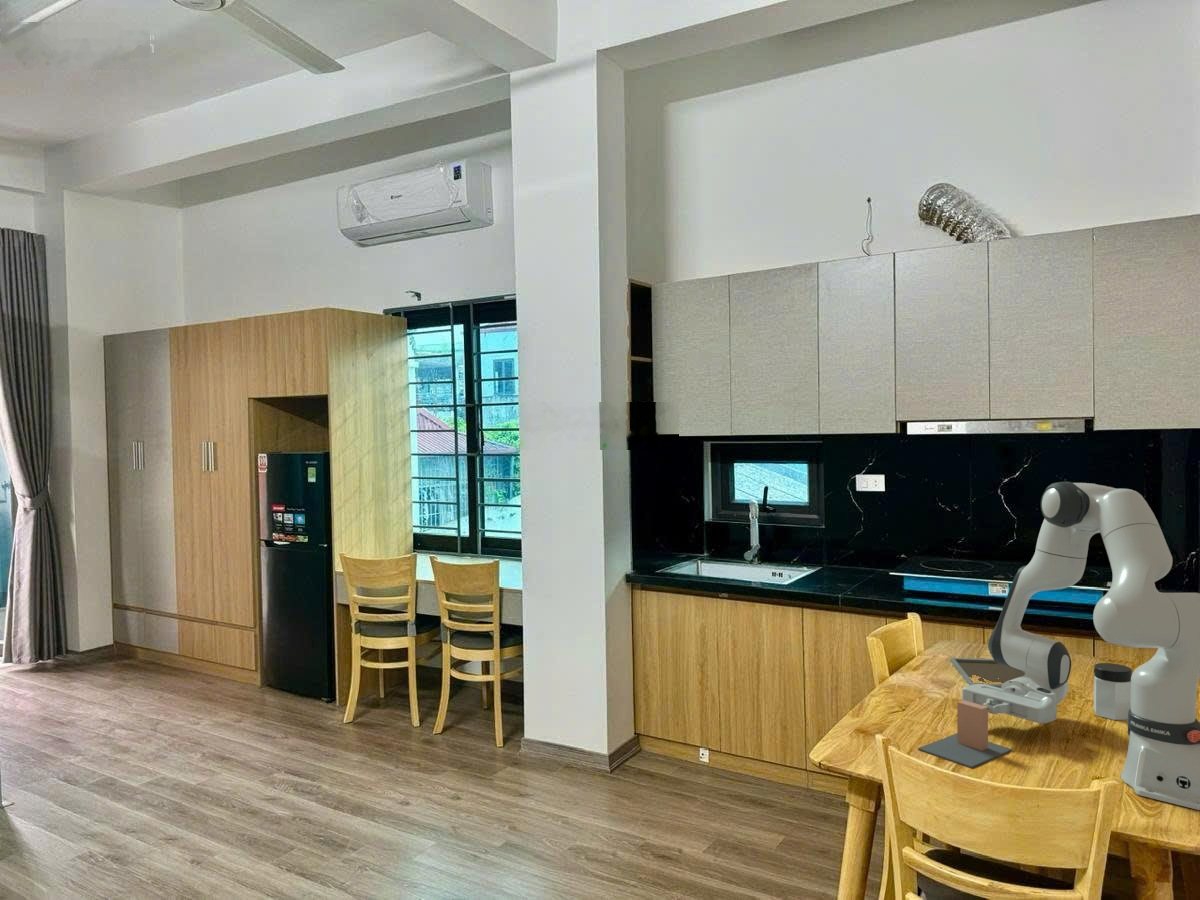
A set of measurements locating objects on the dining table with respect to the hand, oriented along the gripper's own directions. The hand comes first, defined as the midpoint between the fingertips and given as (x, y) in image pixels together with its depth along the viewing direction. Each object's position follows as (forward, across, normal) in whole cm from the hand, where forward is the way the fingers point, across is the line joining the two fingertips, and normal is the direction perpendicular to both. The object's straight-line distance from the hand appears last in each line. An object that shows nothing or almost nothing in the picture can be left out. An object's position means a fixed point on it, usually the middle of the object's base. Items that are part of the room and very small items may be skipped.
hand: (988, 709), depth 199 cm
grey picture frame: (-50, -28, +8) cm, 58 cm away
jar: (-41, +9, +8) cm, 42 cm away
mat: (+9, 0, +7) cm, 12 cm away
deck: (+6, 0, +7) cm, 9 cm away
